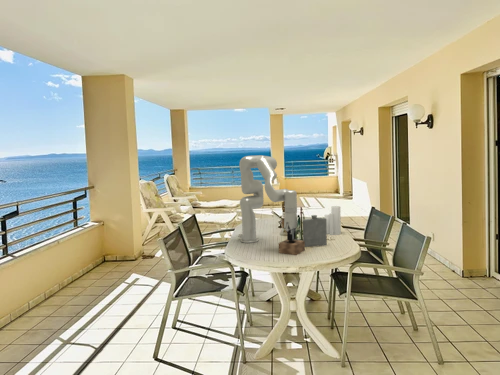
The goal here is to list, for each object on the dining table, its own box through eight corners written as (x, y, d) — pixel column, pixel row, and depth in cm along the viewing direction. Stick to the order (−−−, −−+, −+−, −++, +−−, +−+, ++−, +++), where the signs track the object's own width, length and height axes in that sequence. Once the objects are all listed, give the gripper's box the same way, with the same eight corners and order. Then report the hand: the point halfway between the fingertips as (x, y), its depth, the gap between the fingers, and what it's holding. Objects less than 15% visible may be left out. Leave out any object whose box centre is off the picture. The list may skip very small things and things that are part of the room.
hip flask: (304, 247, 254) (303, 216, 252) (302, 245, 258) (301, 215, 256) (327, 245, 257) (327, 215, 255) (325, 243, 261) (324, 214, 259)
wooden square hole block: (278, 252, 243) (278, 243, 242) (287, 248, 253) (287, 239, 252) (296, 255, 236) (296, 245, 236) (304, 250, 246) (304, 240, 246)
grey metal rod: (288, 247, 244) (287, 228, 243) (290, 245, 246) (290, 227, 245) (293, 247, 242) (292, 228, 241) (295, 246, 245) (294, 227, 244)
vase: (339, 232, 293) (339, 206, 291) (341, 234, 286) (341, 207, 284) (324, 233, 293) (323, 206, 291) (326, 235, 286) (325, 208, 284)
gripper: (291, 208, 251) (291, 236, 253) (279, 212, 237) (279, 241, 239) (302, 208, 247) (302, 237, 249) (290, 212, 233) (291, 243, 235)
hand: (291, 239), depth 244 cm, fingers open, 3 cm apart
